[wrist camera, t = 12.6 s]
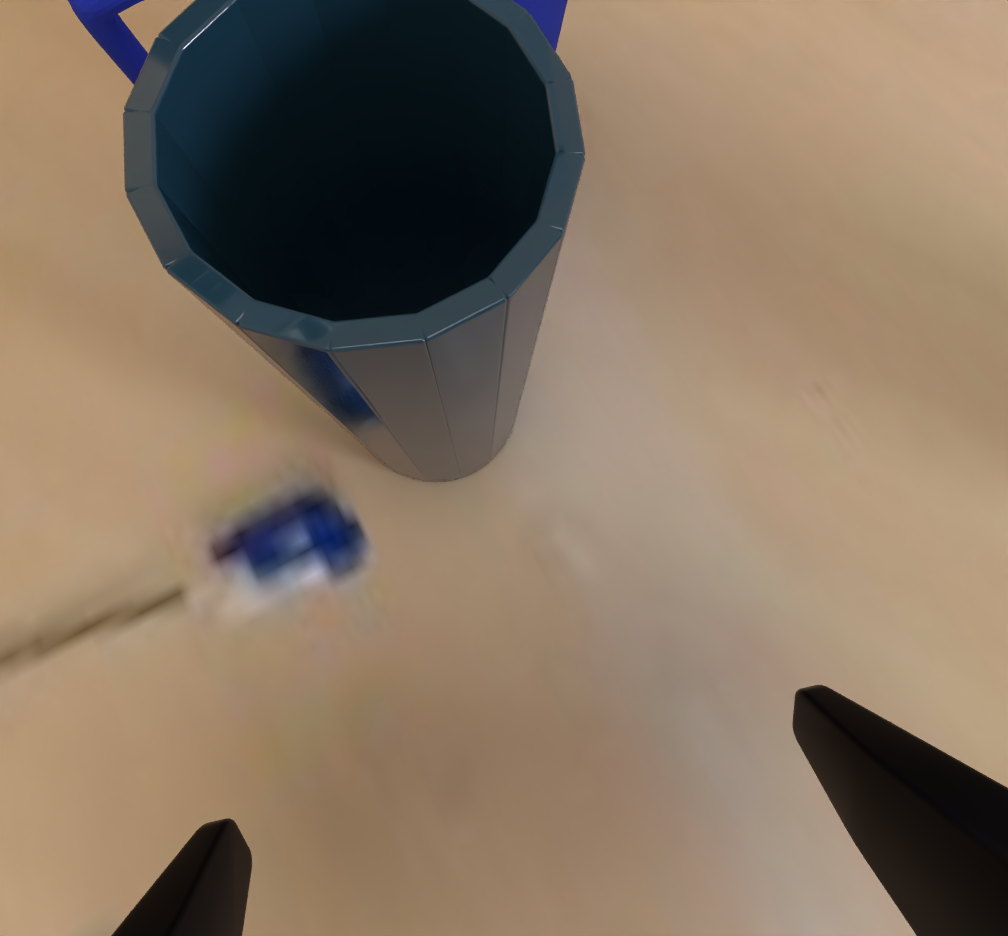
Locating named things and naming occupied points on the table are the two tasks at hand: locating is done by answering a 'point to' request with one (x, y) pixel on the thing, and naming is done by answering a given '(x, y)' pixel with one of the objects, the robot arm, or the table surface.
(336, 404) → the pencil cup
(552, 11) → the mug
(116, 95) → the table surface
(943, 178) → the table surface
